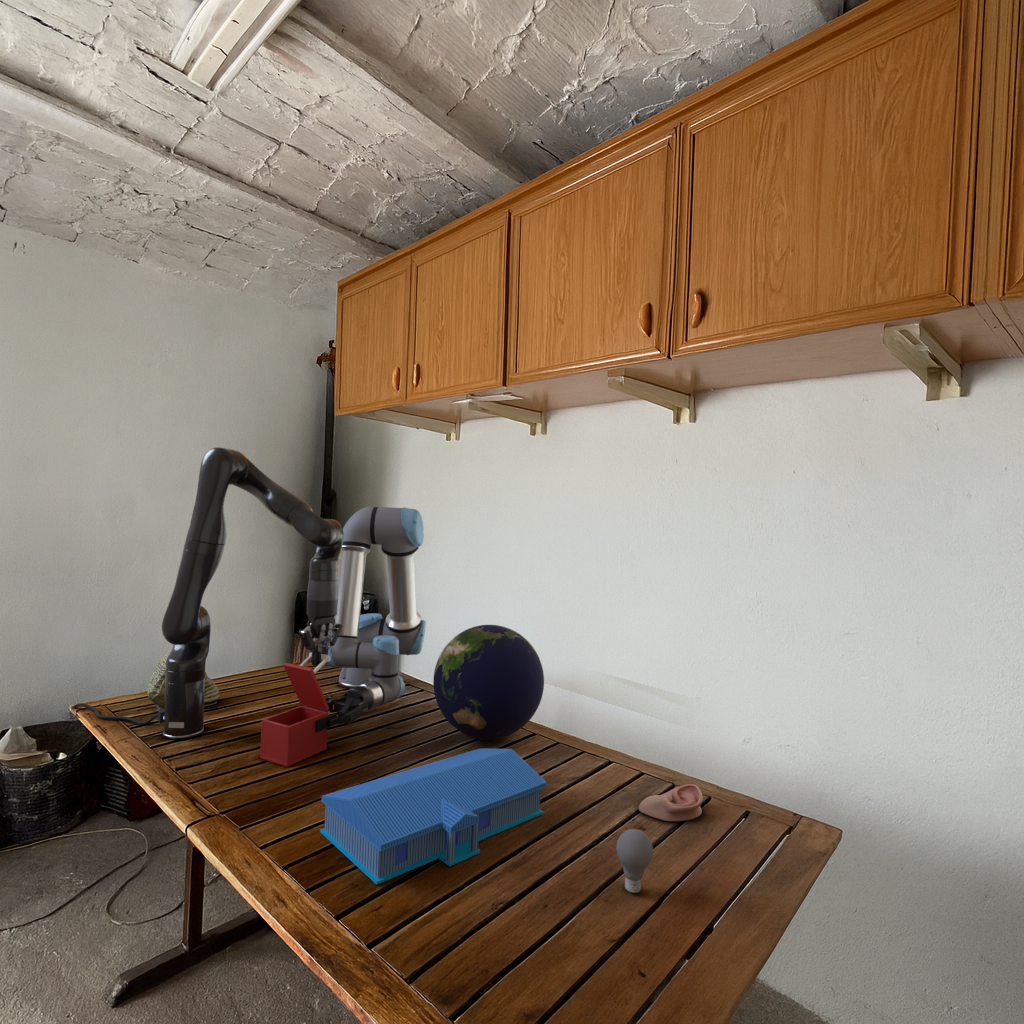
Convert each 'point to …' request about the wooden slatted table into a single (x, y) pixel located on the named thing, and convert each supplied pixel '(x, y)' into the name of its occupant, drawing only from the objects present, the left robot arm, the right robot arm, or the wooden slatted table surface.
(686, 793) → the anatomical model
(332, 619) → the left robot arm
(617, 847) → the light bulb
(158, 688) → the fossil
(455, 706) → the globe
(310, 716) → the chest
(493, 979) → the wooden slatted table surface
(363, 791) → the model building
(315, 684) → the lid
